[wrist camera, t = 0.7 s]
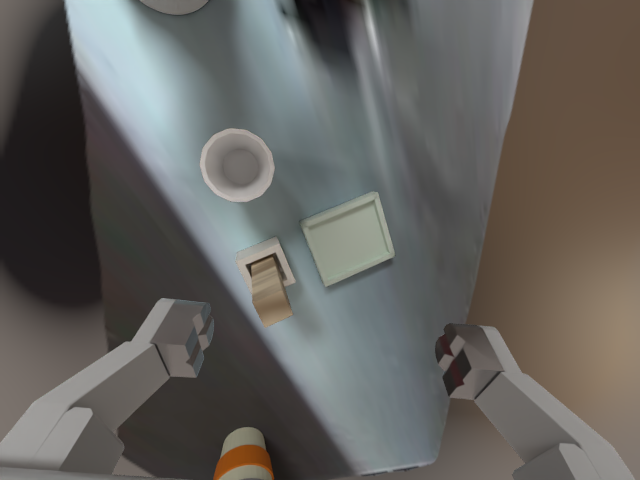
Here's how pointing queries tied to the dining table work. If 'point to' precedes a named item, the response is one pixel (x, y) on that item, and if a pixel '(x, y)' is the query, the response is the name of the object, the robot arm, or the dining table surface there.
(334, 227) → the tray
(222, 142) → the foam cup
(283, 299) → the tan wooden block
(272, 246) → the white square container
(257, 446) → the reusable coffee cup
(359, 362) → the dining table surface
